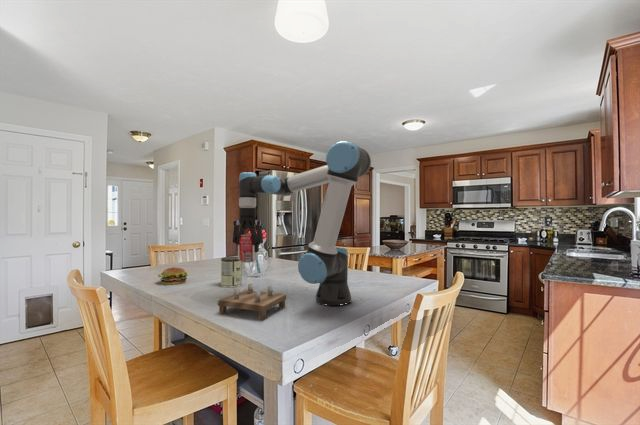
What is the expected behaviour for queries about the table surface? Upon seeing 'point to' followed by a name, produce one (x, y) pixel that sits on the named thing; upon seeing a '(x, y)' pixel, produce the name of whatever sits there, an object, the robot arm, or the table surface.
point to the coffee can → (231, 272)
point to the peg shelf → (252, 301)
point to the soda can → (246, 248)
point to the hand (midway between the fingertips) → (247, 259)
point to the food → (173, 276)
